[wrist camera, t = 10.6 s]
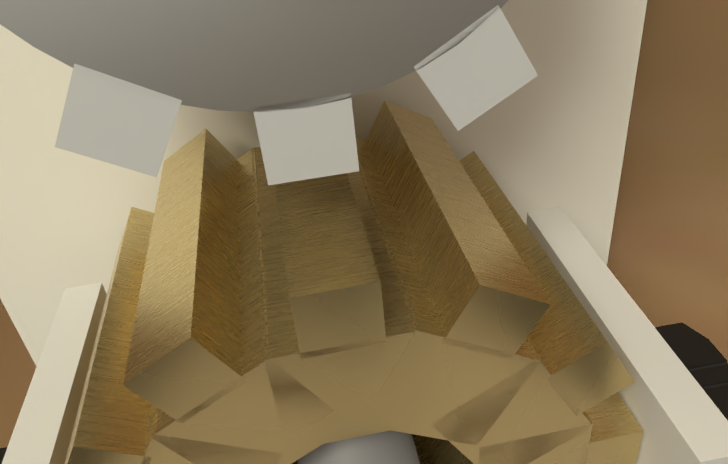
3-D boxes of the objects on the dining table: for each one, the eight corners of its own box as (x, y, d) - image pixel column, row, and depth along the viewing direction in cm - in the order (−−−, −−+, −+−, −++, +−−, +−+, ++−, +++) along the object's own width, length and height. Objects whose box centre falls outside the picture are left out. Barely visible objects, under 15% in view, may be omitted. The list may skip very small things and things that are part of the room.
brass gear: (503, 377, 18) (605, 593, 13) (177, 441, 17) (156, 697, 12) (516, 64, 13) (691, 225, 8) (56, 135, 12) (-62, 360, 7)
